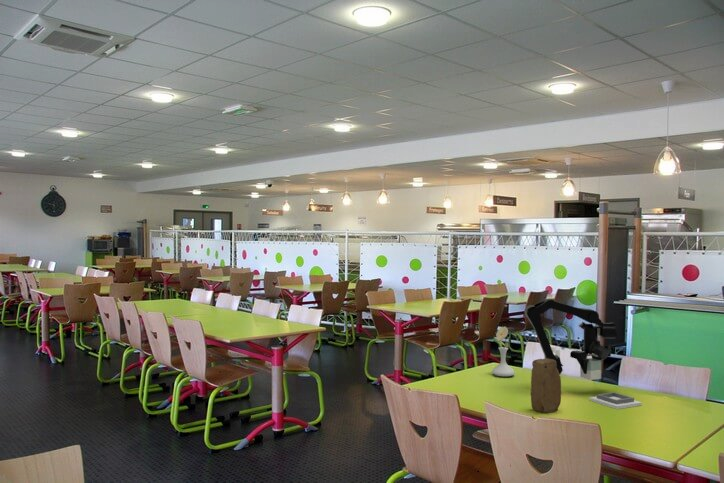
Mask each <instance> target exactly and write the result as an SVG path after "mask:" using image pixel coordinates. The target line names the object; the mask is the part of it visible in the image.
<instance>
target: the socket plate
mask: <svg viewBox="0 0 724 483" xmlns="http://www.w3.org/2000/svg"><path fill="white" fill-rule="evenodd" d="M588 398H589V399H588V401H591V402H594V403H596V404H599V405H602V406H605V407H609V408H612V409H615V410H621V409H622V410H623V409H627V408H634V407H635V408H636V407H640V405H641V406H643V405H642V404H643V403H642V402H641V401H638V400H635V397H631V396H628V395H625V394H622V393H618V392H614V391H612V392H606V393H605V392H604V393H599V394H596V395H595V396H590V397H588Z"/></svg>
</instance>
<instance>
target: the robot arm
mask: <svg viewBox="0 0 724 483" xmlns="http://www.w3.org/2000/svg"><path fill="white" fill-rule="evenodd" d="M551 309H552V310H555V311H559V312H561V313H565V314H569V315H571V316H575V317H578V318H579V319H581V320H583V321H582V322H581V323H580V324H579V325H578V327H579V328H580V329H583V339H581V343H583V348H581V350H579V349H578V350H572V351H570V353H569V354H570V356H569V357H570V358H572V359H576V361H577V363H578V364H579V365H580V366H581V368H582V370H583V372H584V374H587V362H588V361H589V360H590V359H587V358H588V357H591V358H592V359H597V360H601V363H602V362H603V361H604V360H605V359H607V358H609V357H611V356H612V346H611V345H609V344H606V345H602V344H601V341H600V340H598V339H599V338H598V337H600V338H601V339H616V338H617V334H618V332H617V328H616V323H615V322H603V321H602V320H601V319H600V316H599V315H600V314H599V313H598V312H597V311H596V310H593V309H591V308H585V307H576V306H574V305H573V306H572V305H570V304H565V303H563V302H559V301H556V300H554V299H551V298H546V299H544V300H542V301H541V302H538V303H535V304H529V305H527V306H526V307H525V308H524V315H525V316H526V318H527V319H528V321H529V323H530V324H531V326H532V327H533V330H534V333H535V334H536V338H537V340H538V342H539V345H540V348H541V349H542V352H543V355H544V358H548V359H553V360H555V361H556V363H557V364H556V365H557V366H556V367H557V370H558V372H559V375H560V376H561V374H562V372H563V371H564V370H563V367H564V365H563V363H562V362H561V356H560V357H559V356H557V355H554V354H553V351H552V349H551V346H552V345H551V344H550V341H549V339H548V337H547V334H546V330H545V329H544V326H543V323H542V321H543V320H542V316H541V315H542V314H545V312H547V311H549V310H551ZM586 322H587V323H586ZM562 370H563V371H562Z"/></svg>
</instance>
